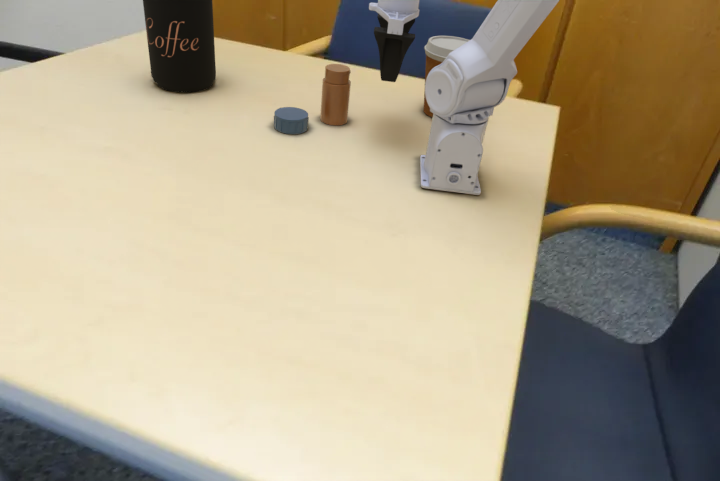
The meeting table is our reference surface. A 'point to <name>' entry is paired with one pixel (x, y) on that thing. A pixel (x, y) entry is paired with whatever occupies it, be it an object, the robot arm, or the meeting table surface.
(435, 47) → the disposable coffee cup
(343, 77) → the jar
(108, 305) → the meeting table surface
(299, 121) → the lid
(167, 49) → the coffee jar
